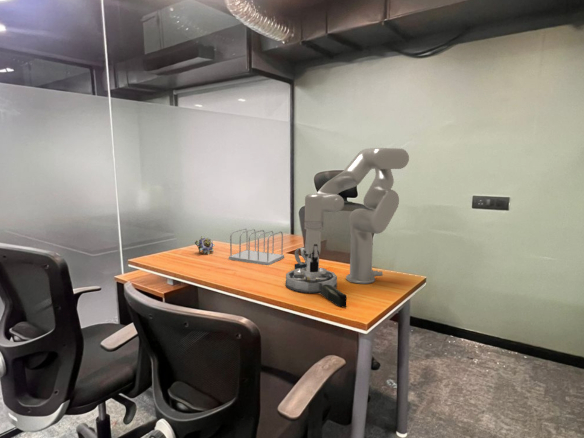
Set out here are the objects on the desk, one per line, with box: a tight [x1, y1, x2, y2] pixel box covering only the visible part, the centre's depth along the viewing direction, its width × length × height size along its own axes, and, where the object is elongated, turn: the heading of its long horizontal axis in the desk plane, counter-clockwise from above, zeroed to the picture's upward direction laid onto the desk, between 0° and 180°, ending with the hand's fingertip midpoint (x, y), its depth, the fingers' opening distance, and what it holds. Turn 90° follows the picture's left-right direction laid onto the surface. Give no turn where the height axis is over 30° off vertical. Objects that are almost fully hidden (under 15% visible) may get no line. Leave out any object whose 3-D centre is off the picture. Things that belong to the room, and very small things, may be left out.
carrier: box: [285, 267, 338, 295], centre depth 146 cm, size 22×22×6 cm
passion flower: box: [194, 236, 216, 255], centre depth 202 cm, size 11×11×12 cm
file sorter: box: [228, 228, 285, 266], centre depth 189 cm, size 25×17×16 cm
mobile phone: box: [319, 284, 347, 308], centre depth 129 cm, size 5×3×15 cm
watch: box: [294, 247, 308, 269], centre depth 168 cm, size 6×8×11 cm
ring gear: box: [285, 268, 338, 291], centre depth 146 cm, size 21×21×3 cm
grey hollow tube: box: [305, 256, 321, 278], centre depth 140 cm, size 6×6×8 cm
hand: (312, 269), depth 140 cm, fingers closed on grey hollow tube, 4 cm apart
